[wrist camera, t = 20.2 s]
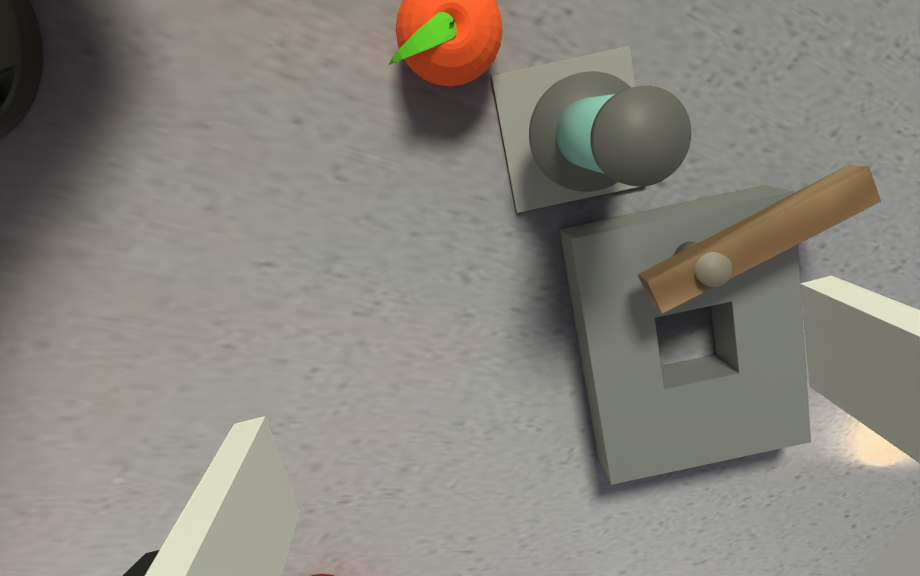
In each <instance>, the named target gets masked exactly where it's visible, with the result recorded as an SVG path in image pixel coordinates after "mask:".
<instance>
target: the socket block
mask: <svg viewBox="0 0 920 576" xmlns="http://www.w3.org/2000/svg"><path fill="white" fill-rule="evenodd" d="M792 194H794V191H791V190H785V189H780V188H775V187H770V186H760V187H755V188H751V189H746V190H741V191H737V192H732V193H727V194H723V195H718V196H713V197H709V198H704V199H699V200H695V201H690V202H685V203H681V204H676V205H671V206H667V207H662V208H657V209H653V210H648V211H643V212H639V213H634V214H629V215H625V216H620V217H615V218H611V219H606V220H602V221H597V222H592V223H588V224H583V225H578V226H574V227H569V228H564V229H560V235H561V241H562V247H563V253H564V259H565V265H566V271H567V277H568V283H569V289H570V295H571V301H572V307H573V313H574V319H575V325H576V331H577V337H578V343H579V348H580V354H581V360H582V366H583V372H584V378H585V384H586V390H587V396H588V402H589V408H590V414H591V420H592V426H593V432H594V438H595V444H596V450H597V456H598V460H599V462H600V464H601V466H602V467H603V469H604V471H605V473H606V475H607V477H608V479H609V481H610V483H611V485H613V484H617V483H622V482H627V481H631V480H636V479H641V478H645V477H650V476H655V475H659V474H664V473H669V472H673V471H678V470H683V469H687V468H692V467H697V466H701V465H706V464H711V463H715V462H720V461H725V460H730V459H734V458H739V457H744V456H748V455H753V454H758V453H762V452H767V451H772V450H776V449H781V448H786V447H790V446H795V445H800V444H804V443H809V442H811V435H810V420H809V405H808V391H807V376H806V361H805V346H804V331H803V317H802V302H801V287H800V272H799V257H798V244H797V245H795V246H793V247H791V248H789V249H787V250H786V251H784V252H782V253H780V254H778V255H776V256H774V257H772V258H770V259H768V260H766V261H764V262H762V263H760V264H758V265H756V266H754V267H752V268H750V269H748V270H746V271H745V272H743V273H741V274H739V275H737V276H735V277H733V278H731V279H729V280H728V281H727V282H726V283H724V284H723V285H721V286H718V287H713V288H711V289H709V290H707V291H705V292H704V293H702V294H700V295H698V296H696V297H694V298H692V299H690V300H688V301H686V302H684V303H682V304H680V305H678V306H676V307H674V308H672V309H670V310H668V311H666V312H664V313H663V314H662V313H661V312H660V311H658V310H657V309H656V308H655V307H654V306H652V304H651V302H650V300H649V298H648V296H647V294H646V292H645V289H644V287H643V285H642V283H641V281H640V279H639V277H638V275H637V274H639V273H641V272H643V271H645V270H647V269H649V268H651V267H653V266H655V265H657V264H659V263H661V262H662V261H664V260H666V259H668V258H670V257H672V256H674V253H675V251H676V249H677V248H678V247H679V246H680V245H681V244H683V243H685V242H696V243H699V242H701V241H703V240H705V239H707V238H709V237H711V236H713V235H715V234H716V233H718V232H720V231H722V230H724V229H726V228H728V227H730V226H732V225H734V224H736V223H738V222H740V221H741V220H743V219H745V218H747V217H749V216H751V215H753V214H755V213H757V212H759V211H761V210H763V209H765V208H767V207H768V206H770V205H772V204H774V203H776V202H778V201H780V200H782V199H784V198H786V197H788V196H790V195H792ZM708 306H711V313H712V323H713V332H714V341H715V351H716V355H711V356H707V357H702V358H697V359H693V360H688V361H683V362H679V363H674V364H669V365H665V366H661V362H660V355H659V347H658V340H657V332H656V325H655V318H657V317H661V316H666V315H671V314H675V313H680V312H685V311H689V310H694V309H699V308H703V307H708Z"/></svg>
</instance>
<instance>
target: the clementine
mask: <svg viewBox="0 0 920 576" xmlns="http://www.w3.org/2000/svg"><path fill="white" fill-rule="evenodd" d="M396 35H397V42H398V46H399V50H398V51H397V53H396V54H395V55H394V56H393V58H392V59H391V61H390V63H389V65H390V64H392V63H395V62H397V61H400V60H402V59H404V60H405V61H406V62H407V64H408V65H409V67H410V68H411V69H412V70H413V71H414V72H415V73H416V74H418V75H419V76H420V77H421V78H423V79H424V80H427V81H429V82H431V83H434V84H436V85H443V86H457V85H463V84H466V83H468V82H470V81H473V80H475V79H477V78H478V77H479V76H480V75H482V74H483V73H484V72H485V71H487V69H488V68H489V67H490V65H491V64H492V62H493V61H494V60H495V58H496V55H497V53H498V50H499V48H500V45H501V38H502V21H501V14H500V11H499V8H498V5H497V3H496V0H403V1H402V4H401V6H400V9H399V12H398V15H397V23H396Z"/></svg>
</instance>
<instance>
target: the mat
mask: <svg viewBox="0 0 920 576" xmlns="http://www.w3.org/2000/svg"><path fill="white" fill-rule="evenodd" d="M587 71H597V72H604V73H608V74H611V75H613V76H616V77H618V78H619V79H621V80H623V81H624V82H625V83H627V84H628V85H629V86H630V87H631V88H632V87H635V81H634V74H633V66H632V58H631V50H630V46H626V47H621V48H617V49H612V50H607V51H603V52H598V53H593V54H589V55H584V56H579V57H575V58H570V59H565V60H561V61H556V62H552V63H547V64H542V65H538V66H533V67H528V68H524V69H519V70H514V71H510V72H505V73H500V74H496V75H492V76H491V77H492V83H493V88H494V94H495V99H496V104H497V110H498V115H499V121H500V126H501V131H502V137H503V142H504V148H505V153H506V159H507V164H508V169H509V175H510V180H511V186H512V191H513V196H514V202H515V207H516V212H517V213H519V212H524V211H529V210H533V209H538V208H543V207H547V206H552V205H557V204H561V203H566V202H571V201H575V200H580V199H584V198H589V197H594V196H598V195H603V194H608V193H612V192H617V191H622V190H626V189H631V188H636V186H629V185H626V184H622V183H619V182H618V183H616V184H614V185H612V186H610V187H608V188H606V189H602V190H599V191H592V192H580V191H574V190H570V189H567V188H565V187H563V186H560V185H558V184H557V183H555V182H553V181H552V180H551V179H549V178H548V177H547V176H546V175H545V174H544V173H543V172H542V171H541V169H540V168H539V167H538V165H537V163H536V162H535V160H534V157H533V155H532V152H531V148H530V143H529V126H530V120H531V117H532V113H533V111H534V109H535V106H536V105H537V103H538V101H539V99H540V98H541V97H542V95H543V94H544V93H545V92H546V91H547V90H548V89H549V88H550V87H551V86H552V85H554V84H555V83H556V82H558V81H560V80H561V79H563V78H565V77H568V76H570V75H573V74H577V73H580V72H587Z"/></svg>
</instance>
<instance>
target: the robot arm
mask: <svg viewBox="0 0 920 576" xmlns="http://www.w3.org/2000/svg"><path fill="white" fill-rule="evenodd" d="M41 68H42V47H41V39H40V33H39V29H38V25H37V21H36V18H35V15H34V12H33V10H32V7H31V5H30V3H29V1H28V0H0V138H1V137H3V136H4V135H5V134H7V133H8V132H9V131H10V130H12V129H13V128H14V127H15V126H16V125H17V124H18V123H19V121H20V120H21V119H22V118H23V116H24V115H25V114H26V112H27V111H28V109H29V107H30V105H31V103H32V101H33V99H34V97H35V94H36V92H37V88H38V85H39V81H40V76H41ZM800 286H801V296H802V307H803V318H804V329H805V340H806V350H807V361H808V372H809V383H810V387H811V388H812V389H814V390H815V391H817V392H818V393H819V394H821V395H822V396H824V397H825V398H827V399H828V400H830V401H831V402H832V403H834V404H835V405H837V406H838V407H840V408H841V409H842V410H844V411H845V412H847V413H848V414H850V415H851V416H853V417H854V418H855V419H857V420H858V421H860V422H861V423H863V424H864V425H865V426H867V427H868V428H870V429H871V430H873V431H874V432H875V433H877V434H878V435H880V436H881V437H883V438H884V439H886V440H887V441H888V442H890V443H891V444H893V445H894V446H896V447H897V448H898V449H900V450H901V451H903V452H904V453H906V454H907V455H909V456H910V457H911V458H913V459H914V460H916V461H917V462H919V463H920V310H917V309H915V308H912V307H910V306H907V305H905V304H902V303H900V302H897V301H895V300H892V299H889V298H887V297H884V296H882V295H879V294H877V293H874V292H872V291H869V290H866V289H864V288H861V287H859V286H856V285H854V284H851V283H849V282H846V281H844V280H841V279H838V278H836V277H833V276H829V277H825V278H821V279H817V280H813V281H809V282H805V283H801V284H800ZM299 515H300V511H299V508H298V506H297V503H296V500H295V497H294V494H293V492H292V489H291V486H290V483H289V480H288V478H287V475H286V472H285V469H284V466H283V464H282V461H281V458H280V455H279V452H278V450H277V447H276V444H275V441H274V439H273V436H272V433H271V430H270V427H269V425H268V422H267V419H266V416H264V417H260V418H256V419H252V420H248V421H244V422H240V423H236V424H234V425H233V427H232V429H231V430H230V432H229V434H228V435H227V437H226V439H225V440H224V442H223V444H222V446H221V447H220V449H219V451H218V452H217V454H216V456H215V457H214V459H213V461H212V463H211V464H210V466H209V468H208V469H207V471H206V473H205V474H204V476H203V478H202V480H201V481H200V483H199V485H198V486H197V488H196V490H195V491H194V493H193V495H192V497H191V498H190V500H189V502H188V503H187V505H186V507H185V508H184V510H183V512H182V514H181V515H180V517H179V519H178V520H177V522H176V524H175V525H174V527H173V529H172V530H171V532H170V534H169V536H168V537H167V539H166V541H165V542H164V544H163V546H162V547H161V549H160V550H157V551H153V552H149V553H146V554H145V555H144V556H142V557H141V558H140V559H139V560H138V561H137V562H136V563H135V564H134V565H133V566H132V567H131V568H130V569H129V570H128V571H127V572H126V573H125V574H124V575H123V576H282V574H283V570H284V567H285V563H286V560H287V556H288V553H289V550H290V546H291V543H292V539H293V536H294V533H295V529H296V526H297V522H298V519H299Z"/></svg>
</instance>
